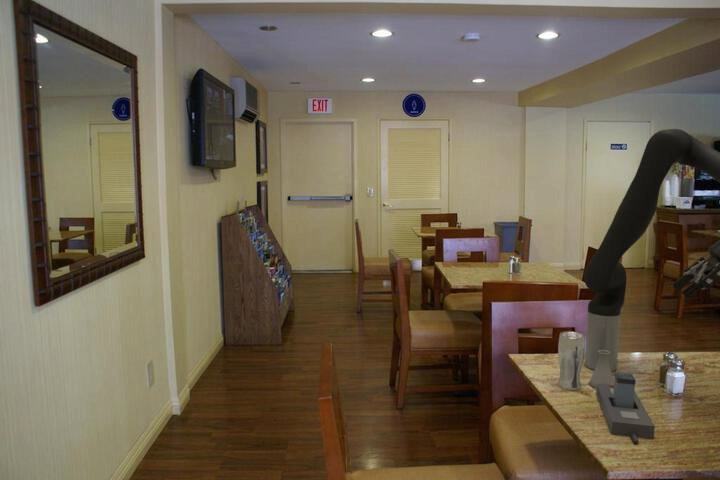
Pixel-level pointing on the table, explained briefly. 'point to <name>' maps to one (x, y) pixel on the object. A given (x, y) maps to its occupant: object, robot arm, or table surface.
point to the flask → (602, 370)
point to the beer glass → (570, 359)
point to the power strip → (625, 415)
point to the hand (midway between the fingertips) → (679, 291)
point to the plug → (624, 390)
